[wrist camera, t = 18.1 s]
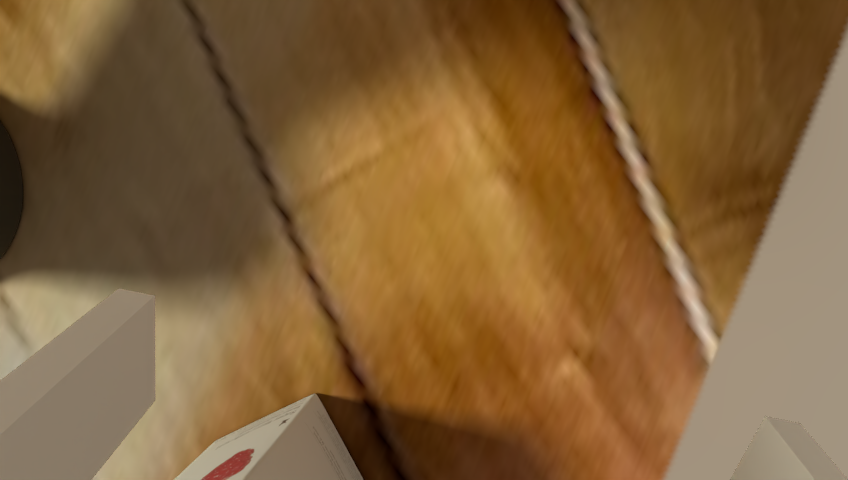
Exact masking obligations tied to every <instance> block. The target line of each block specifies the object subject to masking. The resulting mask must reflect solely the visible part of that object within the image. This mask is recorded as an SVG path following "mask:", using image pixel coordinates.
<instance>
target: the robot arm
mask: <svg viewBox="0 0 848 480" xmlns="http://www.w3.org/2000/svg"><path fill="white" fill-rule="evenodd" d="M22 201H23V184H22V175H21V169H20V165H19V161H18V157H17V154H16V151H15V148H14V146H13V143H12V141H11V139H10V137H9V135H8V133H7V131H6V129H5V128H4V126H3V124H2V123H1V122H0V258H1V257H2V256H3V254H4V253H5V252H6V250H7V248H8V247H9V245H10V243H11V241H12V240H13V237H14V235H15V233H16V230H17V227H18V224H19V220H20V216H21V210H22ZM154 401H155V295H150V294H145V293H140V292H135V291H130V290H125V289H120V288H118V289H117V290H116V291H114V292H113V293H112V294H111V295H109V296H108V297H107V298H105V299H104V300H103V301H102V302H100V303H99V304H98V305H97V306H95V307H94V308H93V309H91V310H90V311H89V312H88V313H86V314H85V315H84V316H82V317H81V318H80V319H79V320H77V321H76V322H75V323H74V324H72V325H71V326H70V327H68V328H67V329H66V330H65V331H63V332H62V333H61V334H59V335H58V336H57V337H56V338H54V339H53V340H52V341H50V342H49V343H48V344H47V345H45V346H44V347H43V348H42V349H40V350H39V351H38V352H36V353H35V354H34V355H33V356H31V357H30V358H29V359H27V360H26V361H25V362H24V363H22V364H21V365H20V366H18V367H17V368H16V369H15V370H13V371H12V372H11V373H10V374H8V375H7V376H6V377H4V378H3V379H2V380H1V381H0V480H92V478H93V477H94V476H95V475H96V473H97V472H98V471H99V470H100V468H101V467H102V466H103V465H104V463H105V462H106V461H107V460H108V459H109V457H110V456H111V455H112V454H113V452H114V451H115V450H116V449H117V447H118V446H119V445H120V444H121V442H122V441H123V440H124V439H125V437H126V436H127V435H128V434H129V432H130V431H131V430H132V429H133V427H134V426H135V425H136V424H137V422H138V421H139V420H140V419H141V417H142V416H143V415H144V414H145V412H146V411H147V410H148V409H149V407H150V406H151V405H152V404H153V402H154ZM730 480H848V479H847V477H846V476H845V475H844V474H843V473H842V472H841V470H840V469H839V468H838V467H837V466H836V464H835V463H834V462H833V461H832V460H831V459H830V458H829V456H828V455H827V454H826V453H825V452H824V451H823V449H822V448H821V447H820V446H819V445H818V443H817V442H816V441H815V440H814V439H813V438H812V436H811V435H810V434H809V433H808V432H807V431H806V429H804V427H803V426H802V425H801V424H800V423H797V422H792V421H787V420H782V419H777V418H772V417H767V416H766V417H765V418H764V420H763V421H762V423H761V425H760V427H759V428H758V430H757V432H756V434H755V436H754V438H753V439H752V441H751V443H750V445H749V446H748V448H747V450H746V452H745V454H744V455H743V457H742V459H741V461H740V463H739V465H738V466H737V468H736V470H735V472H734V473H733V475H732V477H731V479H730Z"/></svg>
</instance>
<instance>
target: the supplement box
mask: <svg viewBox="0 0 848 480" xmlns="http://www.w3.org/2000/svg"><path fill="white" fill-rule="evenodd" d="M174 480H363V478H362V476H361V474H360V472H359V470H358V469H357V467H356V465H355V463H354V461H353V459H352V458H351V456H350V454H349V452H348V450H347V448H346V447H345V445H344V443H343V441H342V439H341V437H340V436H339V434H338V432H337V430H336V428H335V426H334V424H333V423H332V421H331V419H330V417H329V415H328V413H327V412H326V410H325V408H324V406H323V404H322V402H321V401H320V399H319V397H318V396H317V394H312V395H310V396H308V397H306V398H304V399H301V400H299V401H297V402H295V403H293V404H291V405H289V406H287V407H285V408H282V409H280V410H278V411H276V412H274V413H272V414H270V415H268V416H266V417H264V418H262V419H259V420H257V421H255V422H253V423H251V424H249V425H247V426H245V427H243V428H241V429H239V430H237V431H235V432H233V433H230V434H228V435H226V436H224V437H222V438H220V439H218V440H216V441H215V442H213V443H212V444H211V445H210V446H209V447H208V448H207V449H206V450H205V451H204V452H203V453H202V454H201V455H200V456H199V457H197V458H196V459H195V460H194V461H193V462H192V463H191V464H190V465H189V466H188V467H187V468H186V469H185V470H184V471H183V472H182V473H181V474H180V475H179V476H177V477H176V478H175V479H174Z"/></svg>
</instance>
